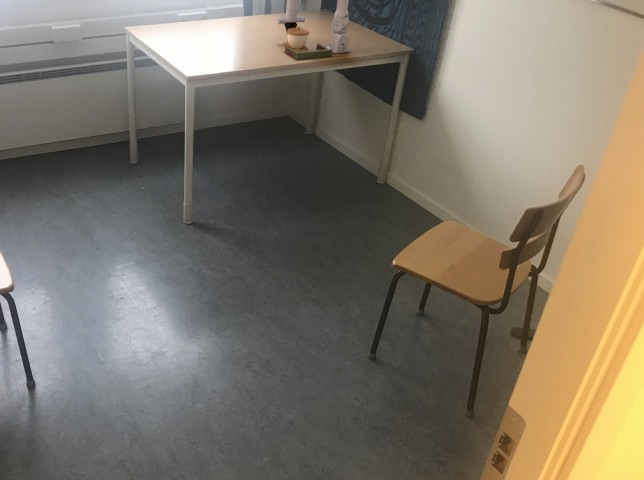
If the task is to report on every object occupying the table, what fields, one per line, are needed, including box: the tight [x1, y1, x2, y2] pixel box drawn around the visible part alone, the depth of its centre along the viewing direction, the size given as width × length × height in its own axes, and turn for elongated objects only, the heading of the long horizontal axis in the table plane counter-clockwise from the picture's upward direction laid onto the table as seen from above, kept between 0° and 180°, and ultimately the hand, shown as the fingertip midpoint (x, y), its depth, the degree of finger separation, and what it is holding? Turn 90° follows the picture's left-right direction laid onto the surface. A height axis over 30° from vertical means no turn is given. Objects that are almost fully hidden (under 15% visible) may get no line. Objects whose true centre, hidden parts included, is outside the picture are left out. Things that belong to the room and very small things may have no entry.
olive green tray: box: [284, 43, 333, 61], centre depth 339 cm, size 12×19×3 cm, turn 111°
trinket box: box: [286, 26, 310, 50], centre depth 346 cm, size 11×11×9 cm
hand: (289, 38), depth 354 cm, fingers closed
